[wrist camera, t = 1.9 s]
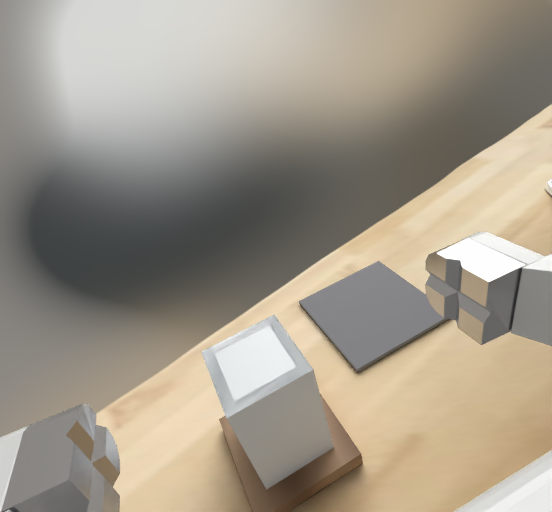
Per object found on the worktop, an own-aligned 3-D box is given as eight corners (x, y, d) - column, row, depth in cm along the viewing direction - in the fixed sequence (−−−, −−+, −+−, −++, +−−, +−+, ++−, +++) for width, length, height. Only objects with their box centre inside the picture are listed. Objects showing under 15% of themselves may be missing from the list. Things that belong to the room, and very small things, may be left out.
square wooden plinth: (307, 380, 35) (296, 344, 32) (362, 463, 28) (356, 426, 25) (224, 427, 33) (204, 393, 30) (261, 529, 26) (240, 498, 23)
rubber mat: (378, 263, 47) (378, 260, 47) (452, 317, 38) (452, 313, 37) (299, 304, 44) (299, 301, 44) (357, 372, 35) (356, 369, 35)
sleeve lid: (298, 390, 33) (274, 314, 27) (333, 447, 28) (313, 369, 23) (239, 424, 32) (201, 351, 26) (266, 489, 27) (226, 418, 21)
